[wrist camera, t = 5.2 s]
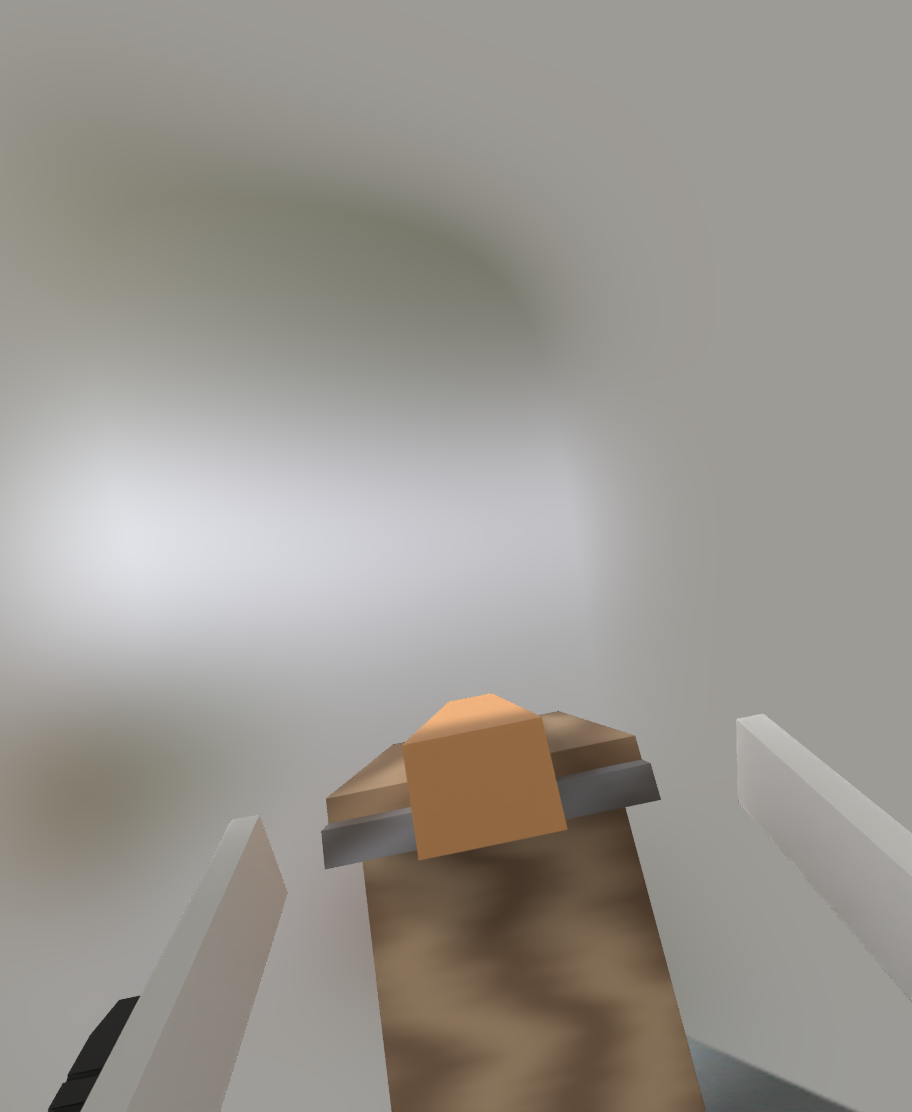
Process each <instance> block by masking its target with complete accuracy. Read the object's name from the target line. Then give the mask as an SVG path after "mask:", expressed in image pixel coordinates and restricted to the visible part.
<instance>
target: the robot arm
mask: <svg viewBox="0 0 912 1112" xmlns="http://www.w3.org/2000/svg"><path fill="white" fill-rule="evenodd" d="M736 738H737V776H738V777H737V778H738V802H739V803H740V804H741V805H742V807H743V808H744V809H745V810H746V811H747V812H748V813H749V815H750V816H751V817H752V818H753V819H754V820H755V822H756V823H757V824H758V825H759V826H760V827H761V829H763V831H764V832H765V833H766V834H767V835H768V837H769V838H770V839H771V840H772V841H773V842H774V843H775V845H776V846H777V847H778V848H779V849H780V850H781V852H782V853H783V854H784V855H785V856H786V857H787V859H788V860H789V861H790V862H791V863H792V864H793V865H794V867H795V868H796V869H797V870H798V871H799V872H800V873H801V875H802V876H803V877H804V878H805V879H806V880H807V882H808V883H809V884H810V885H811V886H812V887H813V889H814V890H815V891H816V892H817V893H818V894H819V895H820V897H821V898H822V899H823V900H824V901H825V902H826V903H827V905H828V906H829V907H830V908H831V909H832V910H833V912H834V913H835V914H836V915H837V916H838V917H839V918H840V920H841V921H842V922H843V923H844V924H845V925H846V926H847V928H848V929H849V930H850V931H851V932H852V933H853V935H854V936H855V937H856V938H857V939H858V941H859V942H860V943H861V944H862V945H863V946H864V947H865V949H866V950H867V951H868V952H869V953H870V954H871V956H872V957H873V958H874V959H875V960H876V961H877V962H878V963H879V965H880V966H881V967H882V968H883V969H884V970H885V972H886V973H887V974H888V975H889V976H890V977H891V979H892V980H893V981H894V982H895V983H896V984H897V985H898V986H899V988H900V989H901V990H902V991H903V992H904V994H905V995H906V996H907V997H908V998H909V999H910V1001H911V1002H912V833H910V832H909V831H908V830H907V829H906V828H904V827H903V826H902V825H901V824H899V823H898V822H897V821H896V820H894V819H893V818H892V817H891V816H889V815H888V814H887V813H885V812H884V811H883V810H882V809H881V808H880V807H878V806H877V805H876V804H875V803H873V802H872V801H871V800H870V799H868V798H867V797H866V796H864V795H863V794H862V793H861V792H860V791H858V790H857V789H856V788H855V787H853V786H852V785H851V784H850V783H849V782H847V781H846V780H845V779H843V778H842V777H841V776H840V775H839V774H837V773H836V772H835V771H834V770H832V769H831V768H830V767H829V766H827V765H826V764H825V763H824V762H823V761H821V760H820V759H819V758H818V757H816V756H815V755H814V754H813V753H811V752H810V751H809V750H808V749H806V748H805V747H804V746H803V745H801V744H800V743H799V742H798V741H796V740H795V739H794V738H793V737H792V736H790V735H789V734H788V733H786V732H785V731H784V730H783V729H782V728H780V727H779V726H778V725H777V724H775V723H774V722H773V721H772V720H770V719H769V718H768V717H767V716H765V715H764V714H760V715H755V716H750V717H745V718H740V719H736ZM287 894H288V892H287V889H286V887H285V884H284V881H283V878H282V876H281V873H280V870H279V867H278V864H277V862H276V859H275V856H274V853H273V851H272V847H271V845H270V842H269V839H268V836H267V833H266V831H265V828H264V825H263V823H262V820H261V817H260V815H254V816H249V817H244V818H239V819H234V820H231V822H230V824H229V826H228V828H227V830H226V832H225V833H224V835H223V837H222V839H221V841H220V843H219V845H218V847H217V849H216V851H215V853H214V855H213V857H212V858H211V860H210V862H209V864H208V866H207V868H206V870H205V872H204V874H203V876H202V878H201V880H200V882H199V884H198V886H197V888H196V890H195V891H194V893H193V895H192V897H191V899H190V901H189V903H188V905H187V907H186V909H185V911H184V913H183V914H182V916H181V919H180V920H179V922H178V924H177V926H176V928H175V930H174V932H173V934H172V936H171V938H170V940H169V942H168V944H167V946H166V947H165V949H164V951H163V953H162V955H161V957H160V959H159V961H158V963H157V965H156V967H155V969H154V971H153V973H152V974H151V976H150V978H149V980H148V982H147V984H146V986H145V988H144V990H143V992H142V994H141V996H136V997H131V998H127V999H122V1000H119V1001H118V1002H117V1003H116V1005H115V1006H114V1007H113V1008H112V1009H111V1011H110V1012H109V1013H108V1014H107V1015H106V1017H105V1018H104V1019H103V1020H102V1022H101V1023H100V1024H99V1025H98V1026H97V1028H96V1029H95V1030H94V1031H93V1032H92V1034H91V1035H90V1036H89V1038H88V1040H87V1042H86V1043H85V1045H84V1047H83V1049H82V1050H81V1052H80V1054H79V1056H78V1057H77V1059H76V1061H75V1063H74V1065H73V1066H72V1068H71V1070H70V1072H69V1073H68V1078H67V1081H66V1082H65V1083H63V1084H62V1086H61V1088H60V1089H59V1091H58V1093H57V1094H56V1096H55V1098H54V1100H53V1101H52V1103H51V1105H50V1107H49V1109H48V1112H220V1111H221V1107H222V1104H223V1101H224V1097H225V1094H226V1091H227V1088H228V1085H229V1082H230V1078H231V1075H232V1072H233V1069H234V1065H235V1062H236V1059H237V1056H238V1052H239V1049H240V1046H241V1043H242V1039H243V1036H244V1033H245V1030H246V1026H247V1023H248V1020H249V1016H250V1013H251V1010H252V1007H253V1003H254V1001H255V997H256V994H257V991H258V988H259V984H260V981H261V977H262V975H263V971H264V968H265V965H266V962H267V958H268V955H269V952H270V949H271V945H272V942H273V939H274V936H275V933H276V929H277V926H278V923H279V920H280V916H281V913H282V910H283V907H284V903H285V900H286V897H287Z"/></svg>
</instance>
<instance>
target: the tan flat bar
mask: <svg viewBox="0 0 912 1112" xmlns="http://www.w3.org/2000/svg"><path fill="white" fill-rule="evenodd" d="M402 750H403V757H404V764H405V770H406V777H407V784H408V791H409V798H410V805H411V811H412V818H413V825H414V832H415V839H416V845H417V852H418V859H419V860H424V859H429V858H434V857H439V856H443V855H448V854H453V853H458V852H463V851H467V850H472V849H477V848H482V847H487V846H491V845H496V844H501V843H506V842H511V841H515V840H520V839H525V838H530V837H535V836H539V835H544V834H549V833H554V832H559V831H564V830H568V829H567V825H566V820H565V816H564V812H563V807H562V803H561V799H560V794H559V790H558V786H557V781H556V777H555V773H554V768H553V764H552V760H551V755H550V751H549V747H548V742H547V738H546V734H545V729H544V725H543V720H542V717H541V716H538V715H536V714H534V713H532V712H530V711H528V710H526V709H524V708H522V707H519V706H517V705H515V704H513V703H511V702H509V701H507V700H505V699H502V698H500V697H498V696H496V695H494V694H492V693H490V694H485V695H481V696H475V697H470V698H465V699H460V700H455V701H451V702H448V703H447V704H446V705H445V706H444V707H443V708H442V709H440V710H439V711H438V712H437V713H436V714H435V715H434V716H433V717H432V718H431V719H430V720H429V721H428V722H426V723H425V724H424V725H423V726H422V727H421V728H420V729H419V730H418V731H417V732H416V733H415V734H413V735H412V737H410V738H409V739H408V740H407V741H406V742H405V743H404V744H403V745H402Z"/></svg>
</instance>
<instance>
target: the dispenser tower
mask: <svg viewBox="0 0 912 1112" xmlns="http://www.w3.org/2000/svg"><path fill="white" fill-rule="evenodd" d="M538 716H541V717H542V720H543V725H544V729H545V734H546V738H547V742H548V747H549V751H550V755H551V760H552V764H553V768H554V773H555V777H556V781H557V786H558V790H559V794H560V799H561V803H562V807H563V812H564V816H565V820H566V825H567V829H568V830H564V831H559V832H554V833H549V834H544V835H539V836H535V837H530V838H525V839H520V840H515V841H511V842H506V843H501V844H496V845H491V846H487V847H482V848H477V849H472V850H467V851H463V852H458V853H453V854H448V855H443V856H439V857H434V858H429V859H424V860H419V859H418V852H417V845H416V839H415V832H414V825H413V818H412V811H411V805H410V798H409V791H408V784H407V777H406V770H405V764H404V757H403V750H402V745H403V744H404V743H405V742H403V743H398V744H393V745H392V746H391V747H389V748H388V749H387V750H386V751H384V752H383V753H382V754H381V755H379V756H378V757H377V758H376V759H374V760H373V761H372V762H371V763H370V764H368V765H367V766H366V767H365V768H363V769H362V770H361V771H360V772H358V773H357V774H356V775H355V776H353V777H352V778H351V779H350V780H348V781H347V782H346V783H345V784H344V785H343V786H341V787H340V788H339V789H337V790H336V791H335V792H334V793H332V794H331V795H330V796H329V797H328V798H326V803H327V813H328V823H329V824H328V825H327V826H326V827H325V828H324V829H323V830H322V831H321V833H322V843H323V853H324V864H325V869H329V868H334V867H339V866H343V865H349V864H353V863H358V862H363V870H364V877H365V886H366V895H367V903H368V912H369V921H370V930H371V938H372V946H373V955H374V963H375V972H376V981H377V989H378V998H379V1007H380V1016H381V1024H382V1033H383V1041H384V1050H385V1058H386V1066H387V1076H388V1084H389V1093H390V1101H391V1110H392V1112H706V1110H705V1107H704V1103H703V1099H702V1095H701V1092H700V1088H699V1084H698V1080H697V1076H696V1073H695V1069H694V1065H693V1061H692V1058H691V1054H690V1050H689V1046H688V1042H687V1039H686V1035H685V1031H684V1027H683V1024H682V1020H681V1016H680V1012H679V1008H678V1005H677V1001H676V997H675V993H674V990H673V986H672V982H671V979H670V974H669V971H668V967H667V963H666V959H665V956H664V952H663V948H662V944H661V940H660V937H659V933H658V929H657V926H656V922H655V918H654V914H653V910H652V907H651V903H650V899H649V895H648V892H647V888H646V884H645V880H644V876H643V872H642V869H641V865H640V862H639V857H638V854H637V850H636V846H635V843H634V839H633V835H632V831H631V828H630V823H629V820H628V816H627V812H626V808H625V807H628V806H633V805H638V804H643V803H647V802H652V801H657V800H661V798H660V795H659V791H658V788H657V784H656V781H655V777H654V774H653V770H652V767H651V763H649V762H646V761H644V760H642V759H641V755H640V752H639V748H638V744H637V741H636V737H635V736H634V735H631V734H628V733H625V732H622V731H619V730H616V729H612V728H610V727H606V726H603V725H600V724H597V723H593V722H591V721H588V720H584V719H581V718H578V717H575V716H572V715H568V714H566V713H563V712H559V711H557V712H552V713H547V714H543V715H538Z"/></svg>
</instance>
